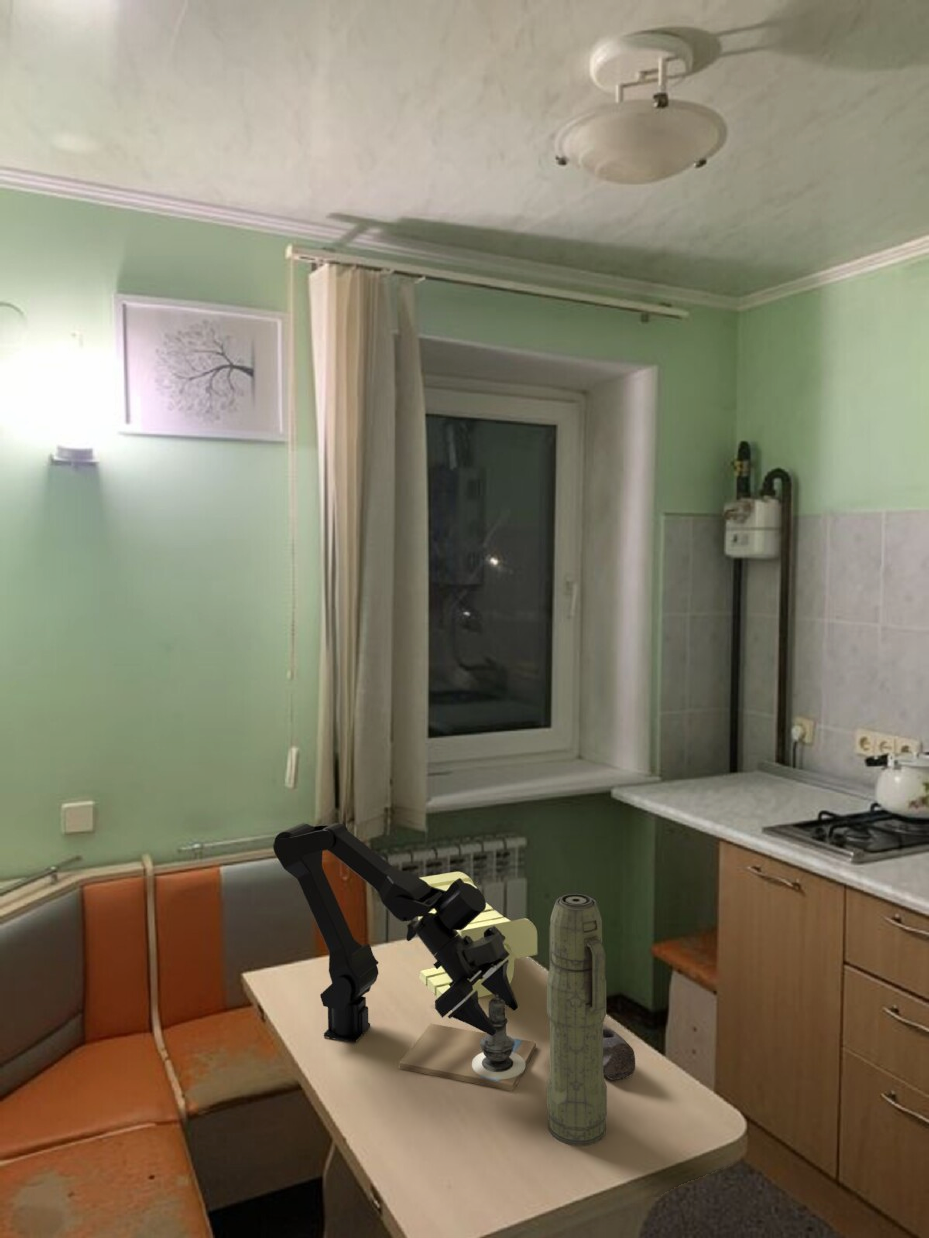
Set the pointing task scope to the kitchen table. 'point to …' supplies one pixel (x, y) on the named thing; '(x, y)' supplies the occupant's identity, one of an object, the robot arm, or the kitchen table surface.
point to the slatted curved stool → (516, 935)
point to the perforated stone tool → (617, 1055)
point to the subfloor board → (463, 1057)
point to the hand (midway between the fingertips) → (505, 1020)
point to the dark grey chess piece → (497, 1039)
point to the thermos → (576, 1022)
